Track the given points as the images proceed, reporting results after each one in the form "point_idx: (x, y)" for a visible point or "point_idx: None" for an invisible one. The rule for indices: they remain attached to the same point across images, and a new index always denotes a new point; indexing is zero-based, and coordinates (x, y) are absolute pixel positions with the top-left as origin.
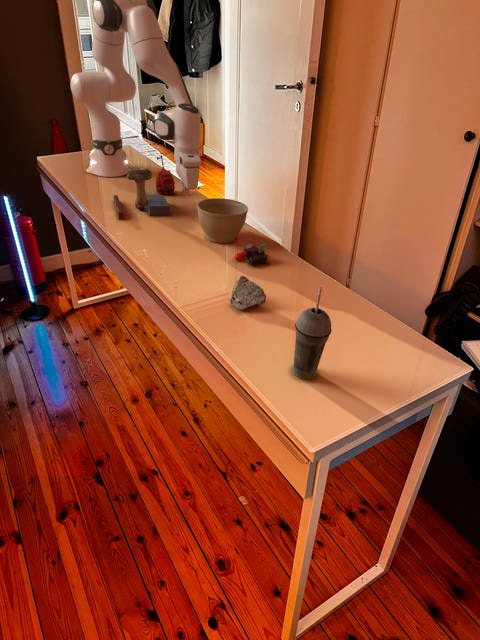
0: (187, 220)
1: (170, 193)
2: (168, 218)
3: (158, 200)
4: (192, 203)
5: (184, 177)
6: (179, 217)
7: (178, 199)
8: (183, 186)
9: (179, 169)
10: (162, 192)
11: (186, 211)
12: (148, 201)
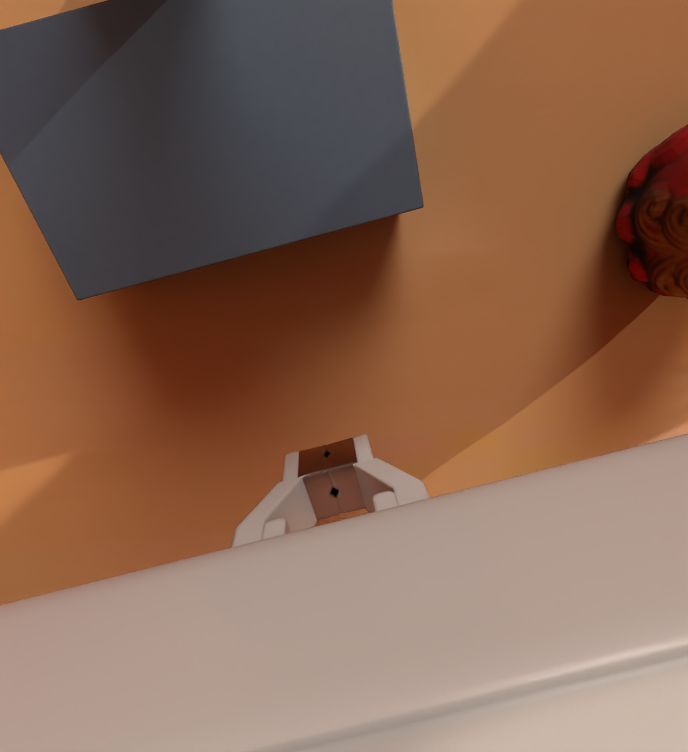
0: (65, 424)
1: (629, 265)
2: (45, 280)
3: (212, 159)
4: (430, 436)
5: (18, 721)
6: (106, 366)
7: (513, 335)
8: (364, 478)
9: (545, 610)
10: (642, 187)
11: (254, 407)
12: (130, 13)
